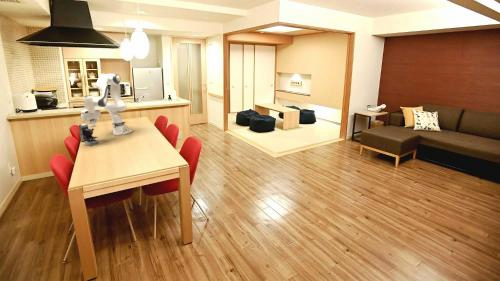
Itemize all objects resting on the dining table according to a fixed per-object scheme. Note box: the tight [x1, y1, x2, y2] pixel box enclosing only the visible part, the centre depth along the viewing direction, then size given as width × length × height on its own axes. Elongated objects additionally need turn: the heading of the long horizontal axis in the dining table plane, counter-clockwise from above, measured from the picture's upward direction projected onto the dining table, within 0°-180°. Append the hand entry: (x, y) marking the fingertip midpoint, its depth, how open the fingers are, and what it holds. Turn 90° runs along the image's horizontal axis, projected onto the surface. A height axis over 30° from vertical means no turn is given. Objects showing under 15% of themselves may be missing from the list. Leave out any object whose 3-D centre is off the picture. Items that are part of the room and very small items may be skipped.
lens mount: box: [84, 138, 99, 147], centre depth 289 cm, size 9×9×4 cm
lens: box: [89, 119, 97, 128], centre depth 286 cm, size 5×5×8 cm
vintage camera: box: [78, 122, 99, 142], centre depth 298 cm, size 10×16×20 cm, turn 78°
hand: (92, 123), depth 286 cm, fingers closed on lens, 5 cm apart
